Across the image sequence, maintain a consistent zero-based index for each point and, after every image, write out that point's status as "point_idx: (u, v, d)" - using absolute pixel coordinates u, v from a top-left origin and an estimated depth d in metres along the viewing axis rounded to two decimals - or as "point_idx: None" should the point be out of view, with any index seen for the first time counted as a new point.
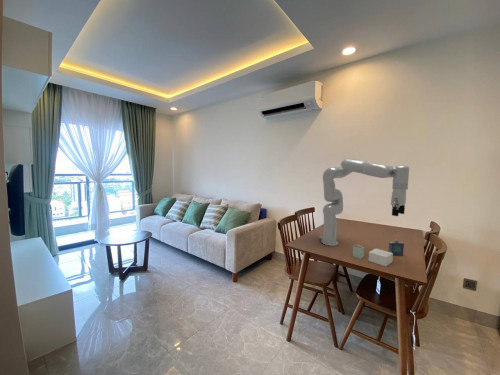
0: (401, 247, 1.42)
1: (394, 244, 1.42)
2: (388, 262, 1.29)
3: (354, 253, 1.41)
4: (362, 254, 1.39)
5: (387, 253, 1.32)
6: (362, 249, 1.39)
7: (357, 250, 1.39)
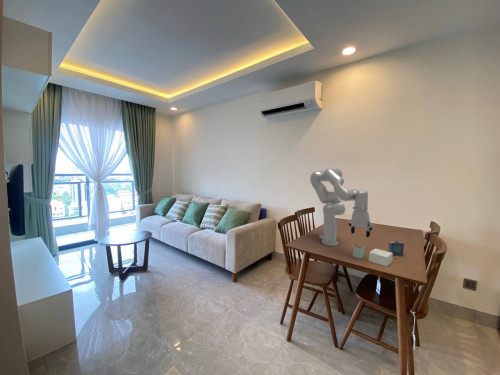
0: (401, 247, 1.42)
1: (394, 244, 1.42)
2: (388, 262, 1.29)
3: (354, 253, 1.41)
4: (362, 254, 1.39)
5: (387, 253, 1.32)
6: (362, 249, 1.39)
7: (357, 250, 1.39)
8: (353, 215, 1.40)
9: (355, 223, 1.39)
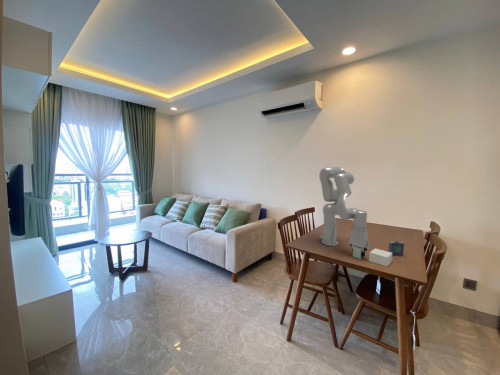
0: (401, 247, 1.42)
1: (394, 244, 1.42)
2: (388, 262, 1.30)
3: (354, 253, 1.41)
4: None
5: (387, 253, 1.32)
6: None
7: (357, 250, 1.39)
8: (352, 234, 1.41)
9: (354, 242, 1.40)
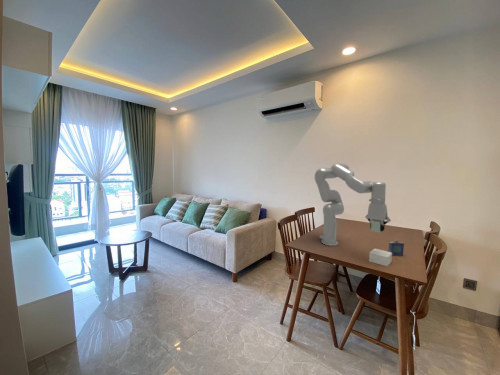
0: (401, 247, 1.42)
1: (394, 244, 1.42)
2: (389, 262, 1.30)
3: (372, 227, 1.33)
4: None
5: (387, 253, 1.32)
6: None
7: (376, 224, 1.31)
8: (370, 208, 1.34)
9: (372, 216, 1.33)
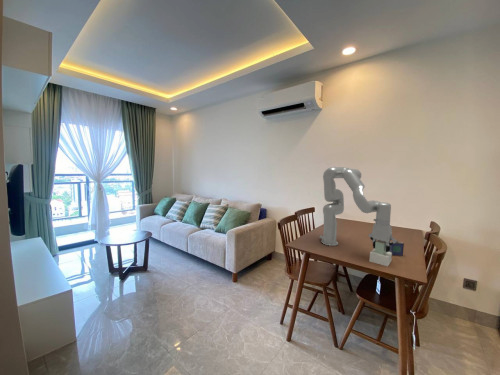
0: (401, 247, 1.42)
1: (394, 244, 1.42)
2: (389, 262, 1.30)
3: (376, 249, 1.33)
4: (385, 250, 1.32)
5: (387, 253, 1.32)
6: (385, 244, 1.31)
7: (380, 246, 1.31)
8: (374, 228, 1.33)
9: (376, 236, 1.33)
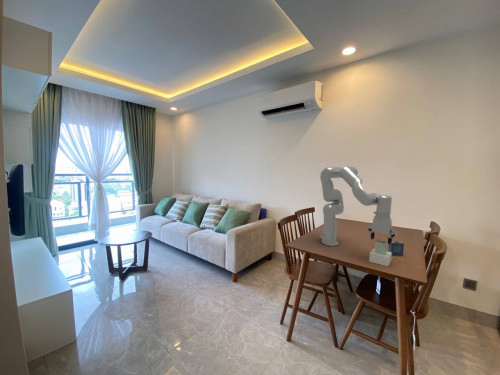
0: (401, 247, 1.42)
1: (394, 244, 1.42)
2: (389, 262, 1.30)
3: (376, 249, 1.33)
4: (385, 250, 1.32)
5: (387, 253, 1.32)
6: (385, 244, 1.31)
7: (380, 245, 1.31)
8: (374, 220, 1.33)
9: (376, 229, 1.32)
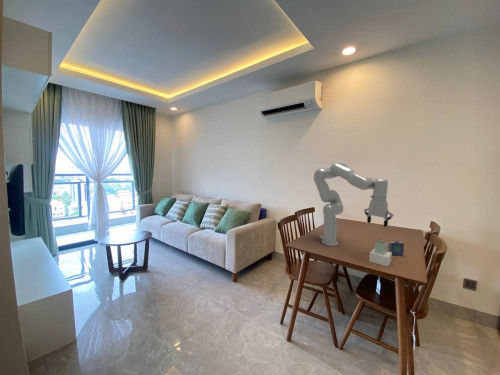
0: (401, 247, 1.42)
1: (394, 244, 1.42)
2: (389, 262, 1.30)
3: (376, 249, 1.33)
4: (385, 250, 1.32)
5: (387, 253, 1.32)
6: (385, 244, 1.31)
7: (380, 246, 1.31)
8: (371, 204, 1.36)
9: (372, 212, 1.35)
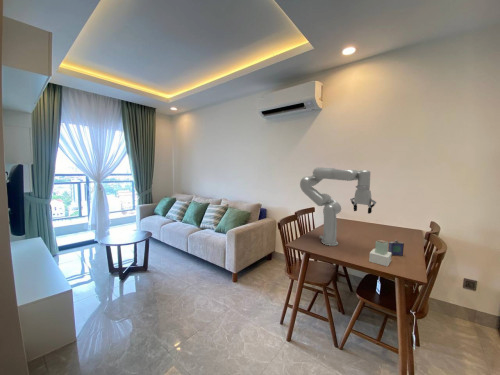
0: (401, 247, 1.42)
1: (394, 244, 1.42)
2: (388, 262, 1.30)
3: (376, 249, 1.33)
4: (385, 250, 1.31)
5: (387, 253, 1.32)
6: (385, 245, 1.31)
7: (380, 246, 1.31)
8: (356, 193, 1.48)
9: (358, 201, 1.48)
